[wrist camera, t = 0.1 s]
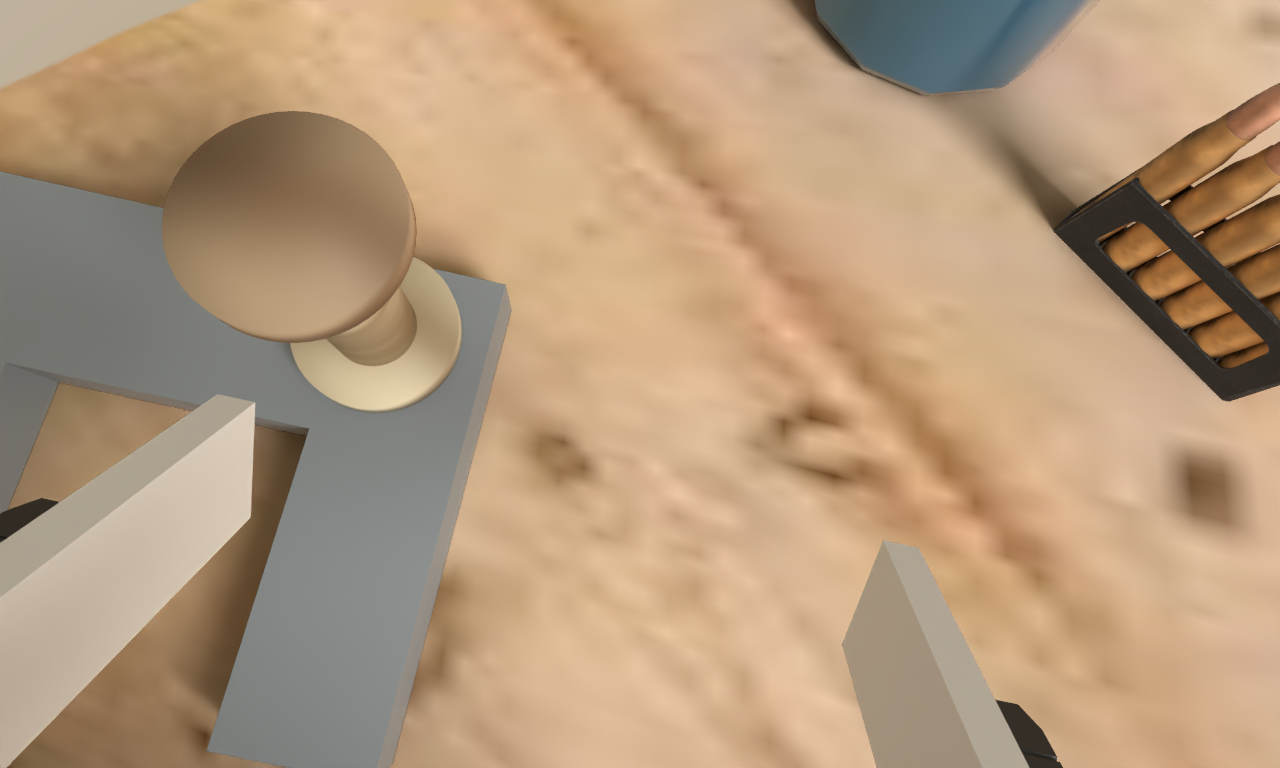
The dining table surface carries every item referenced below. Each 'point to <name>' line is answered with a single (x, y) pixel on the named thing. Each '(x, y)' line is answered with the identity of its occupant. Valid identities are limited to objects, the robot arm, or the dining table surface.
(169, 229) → the birch bobbin
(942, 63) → the wine bottle
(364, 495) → the notched board
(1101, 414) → the dining table surface
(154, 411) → the dining table surface
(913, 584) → the robot arm
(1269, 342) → the ammunition clip
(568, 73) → the dining table surface
